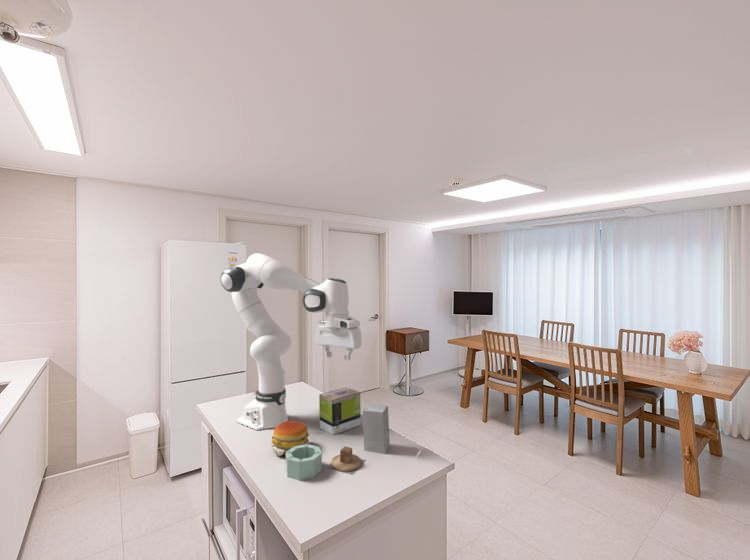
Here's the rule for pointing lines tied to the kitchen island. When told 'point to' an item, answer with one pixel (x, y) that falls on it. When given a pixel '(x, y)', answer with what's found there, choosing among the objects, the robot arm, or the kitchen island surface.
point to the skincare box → (376, 428)
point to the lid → (346, 461)
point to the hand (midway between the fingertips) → (337, 358)
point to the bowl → (303, 462)
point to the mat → (346, 472)
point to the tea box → (339, 410)
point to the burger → (289, 436)
